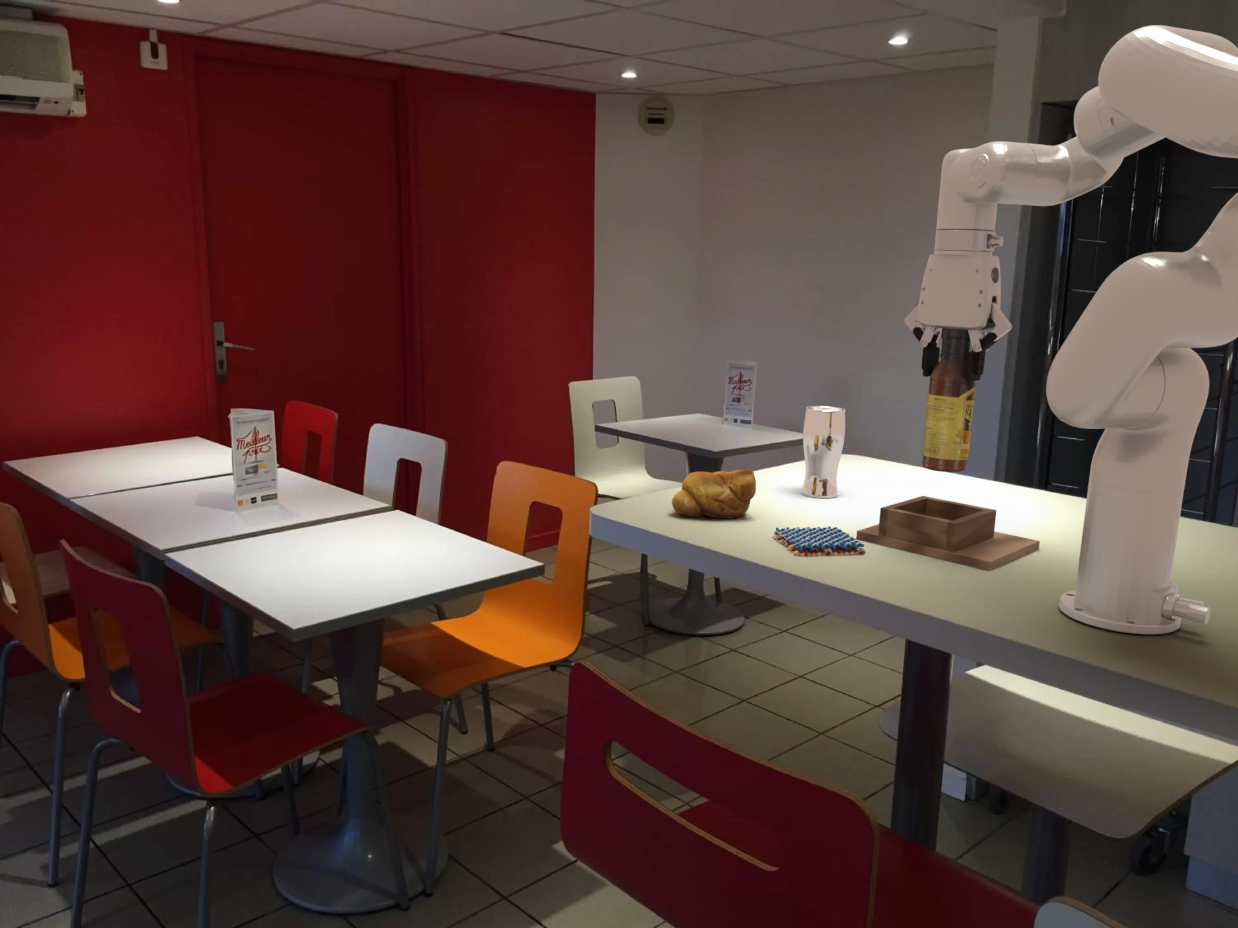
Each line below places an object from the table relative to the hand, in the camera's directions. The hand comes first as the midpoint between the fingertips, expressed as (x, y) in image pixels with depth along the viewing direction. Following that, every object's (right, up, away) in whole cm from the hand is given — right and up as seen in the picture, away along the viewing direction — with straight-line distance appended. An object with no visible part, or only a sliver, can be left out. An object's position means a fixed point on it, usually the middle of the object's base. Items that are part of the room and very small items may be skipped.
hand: (951, 376), depth 140 cm
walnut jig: (+1, -24, +5) cm, 24 cm away
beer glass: (-11, -18, +35) cm, 40 cm away
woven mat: (-18, -24, +2) cm, 30 cm away
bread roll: (-32, -20, +19) cm, 42 cm away
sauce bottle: (0, -13, +3) cm, 13 cm away
